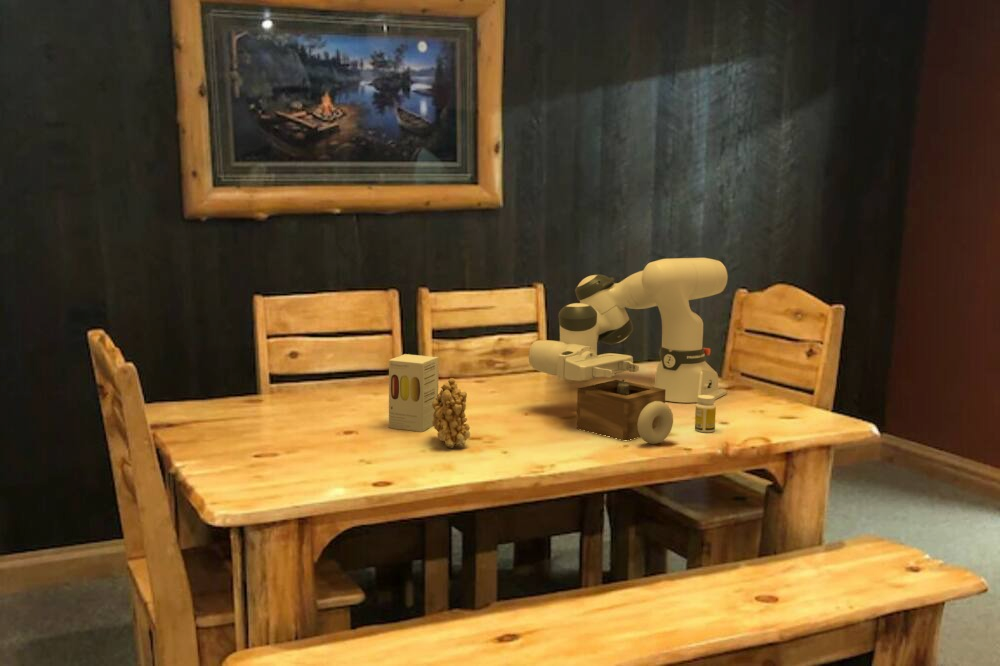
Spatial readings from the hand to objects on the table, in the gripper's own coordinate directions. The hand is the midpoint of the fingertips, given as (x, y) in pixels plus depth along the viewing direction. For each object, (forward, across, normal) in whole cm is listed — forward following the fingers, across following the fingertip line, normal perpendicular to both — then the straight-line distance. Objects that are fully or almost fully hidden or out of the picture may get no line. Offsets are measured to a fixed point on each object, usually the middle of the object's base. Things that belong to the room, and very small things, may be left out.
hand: (625, 371), depth 220 cm
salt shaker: (0, 0, -14) cm, 14 cm away
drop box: (-1, 0, -14) cm, 15 cm away
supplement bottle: (+14, -14, -15) cm, 25 cm away
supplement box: (-37, +35, -15) cm, 53 cm away
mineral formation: (-20, +38, -15) cm, 46 cm away
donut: (+12, +4, -15) cm, 20 cm away
